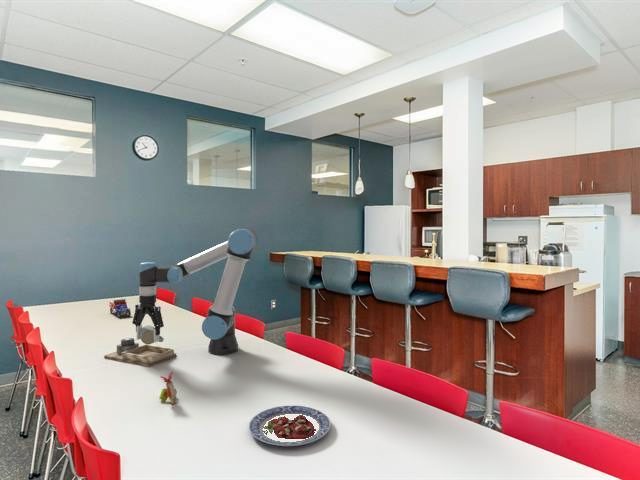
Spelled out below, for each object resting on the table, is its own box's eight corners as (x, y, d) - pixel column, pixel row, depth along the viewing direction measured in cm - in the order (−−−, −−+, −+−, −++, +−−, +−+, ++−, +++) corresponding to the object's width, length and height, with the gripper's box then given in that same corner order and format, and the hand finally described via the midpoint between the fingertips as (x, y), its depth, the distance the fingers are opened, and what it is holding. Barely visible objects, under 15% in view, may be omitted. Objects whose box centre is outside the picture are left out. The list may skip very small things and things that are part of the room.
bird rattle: (182, 406, 149) (172, 390, 155) (186, 383, 145) (177, 367, 151) (165, 412, 145) (156, 394, 151) (169, 387, 141) (160, 371, 147)
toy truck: (118, 319, 278) (118, 303, 277) (108, 313, 296) (108, 298, 296) (131, 317, 283) (131, 301, 283) (120, 311, 302) (120, 296, 301)
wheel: (137, 350, 203) (137, 338, 203) (127, 354, 198) (127, 341, 197) (128, 349, 206) (128, 337, 205) (118, 352, 200) (118, 340, 200)
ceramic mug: (140, 346, 191) (141, 329, 191) (139, 341, 198) (139, 325, 198) (164, 343, 196) (165, 327, 196) (162, 339, 203) (163, 324, 203)
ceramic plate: (328, 411, 142) (328, 402, 142) (333, 452, 117) (333, 441, 117) (254, 411, 142) (254, 403, 142) (242, 453, 116) (242, 442, 116)
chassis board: (176, 355, 200) (176, 345, 200) (149, 366, 185) (149, 355, 185) (133, 348, 212) (132, 338, 212) (104, 358, 196) (104, 347, 196)
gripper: (171, 295, 194) (171, 341, 195) (136, 291, 203) (136, 335, 204) (160, 297, 187) (160, 345, 188) (124, 293, 196) (124, 339, 197)
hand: (147, 340), depth 196 cm, fingers closed on ceramic mug, 10 cm apart
